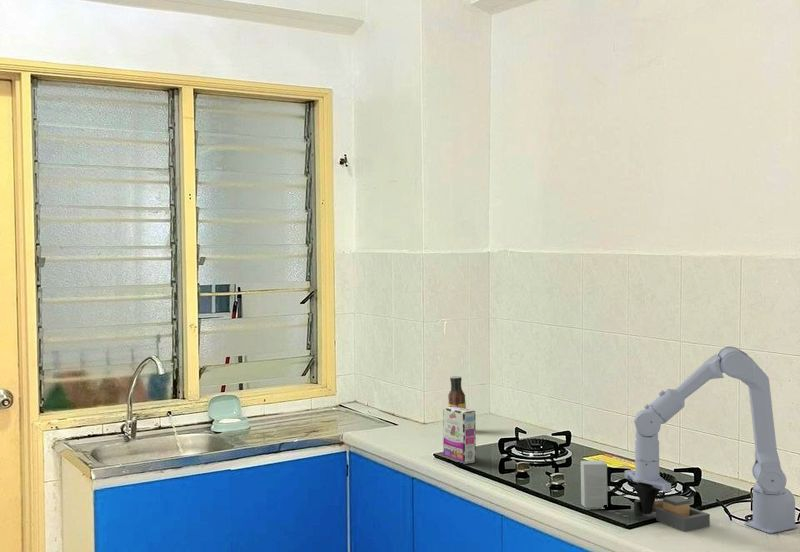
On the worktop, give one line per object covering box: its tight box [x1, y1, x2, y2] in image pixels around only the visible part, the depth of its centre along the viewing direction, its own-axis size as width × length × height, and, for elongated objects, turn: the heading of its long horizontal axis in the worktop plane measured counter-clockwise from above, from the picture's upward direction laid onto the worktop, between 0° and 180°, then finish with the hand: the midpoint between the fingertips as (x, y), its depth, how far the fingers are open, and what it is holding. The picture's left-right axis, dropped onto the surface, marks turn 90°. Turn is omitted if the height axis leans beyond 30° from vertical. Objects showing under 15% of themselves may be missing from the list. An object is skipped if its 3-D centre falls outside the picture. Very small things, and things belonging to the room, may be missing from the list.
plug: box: [662, 495, 691, 517], centre depth 221 cm, size 4×4×6 cm
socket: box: [655, 506, 711, 533], centre depth 220 cm, size 10×12×3 cm
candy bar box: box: [442, 406, 477, 462], centre depth 282 cm, size 11×5×16 cm, turn 33°
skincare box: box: [580, 459, 608, 508], centre depth 232 cm, size 6×4×12 cm
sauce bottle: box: [447, 375, 467, 409], centre depth 323 cm, size 7×6×20 cm
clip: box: [633, 495, 685, 518], centre depth 224 cm, size 14×2×4 cm, turn 105°
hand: (647, 513), depth 221 cm, fingers closed
